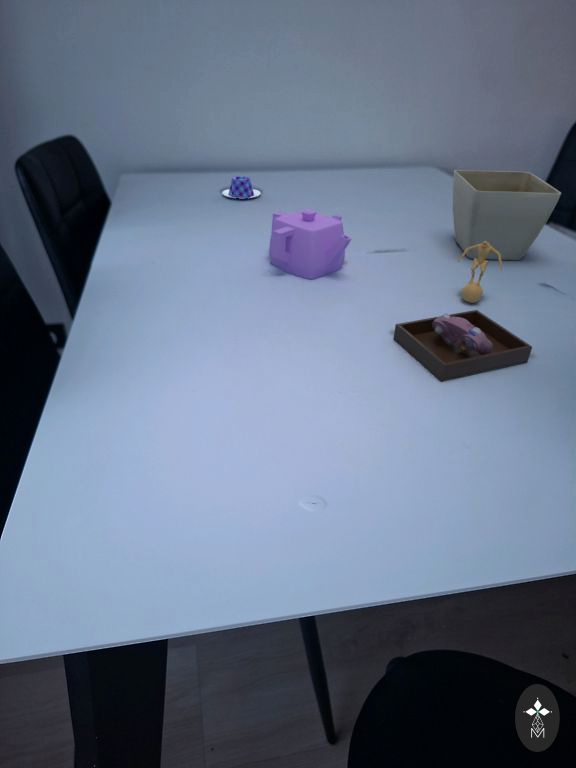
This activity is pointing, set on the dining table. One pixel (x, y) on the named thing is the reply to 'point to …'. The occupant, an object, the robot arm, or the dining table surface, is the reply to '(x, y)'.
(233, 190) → the pudding
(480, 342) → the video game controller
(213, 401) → the dining table surface
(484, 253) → the figurine
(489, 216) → the flower pot
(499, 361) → the tray
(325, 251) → the teakettle
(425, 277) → the dining table surface
